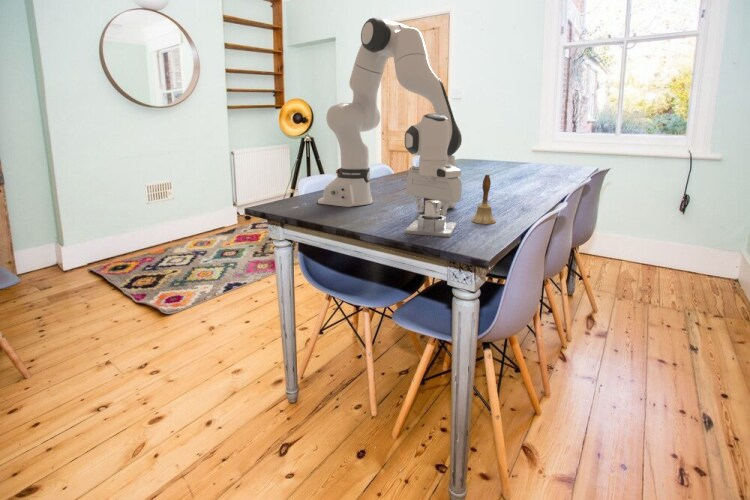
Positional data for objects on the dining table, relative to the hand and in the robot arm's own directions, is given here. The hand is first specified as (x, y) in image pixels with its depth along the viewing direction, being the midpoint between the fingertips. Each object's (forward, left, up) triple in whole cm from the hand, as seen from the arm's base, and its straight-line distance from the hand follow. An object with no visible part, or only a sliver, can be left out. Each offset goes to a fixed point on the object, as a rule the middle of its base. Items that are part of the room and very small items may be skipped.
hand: (431, 212), depth 145 cm
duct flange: (0, 0, -6) cm, 6 cm away
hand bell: (+15, +16, -6) cm, 23 cm away
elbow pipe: (0, 0, -5) cm, 5 cm away
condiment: (-5, +21, -6) cm, 22 cm away
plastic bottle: (0, +33, -6) cm, 33 cm away
